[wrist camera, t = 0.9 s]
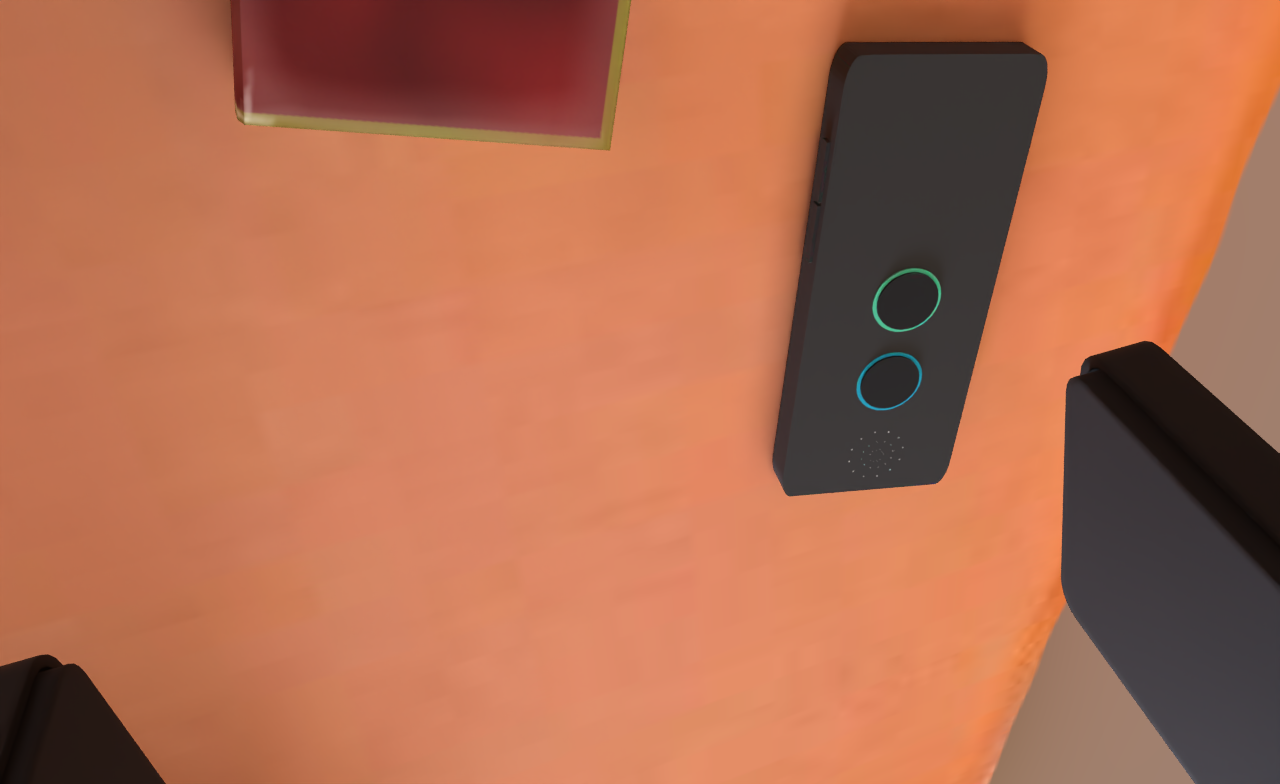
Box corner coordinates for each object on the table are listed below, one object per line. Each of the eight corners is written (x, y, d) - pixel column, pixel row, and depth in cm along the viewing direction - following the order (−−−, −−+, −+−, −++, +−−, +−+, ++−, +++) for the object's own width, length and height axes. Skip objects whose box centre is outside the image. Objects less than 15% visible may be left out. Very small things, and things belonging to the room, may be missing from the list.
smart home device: (777, 500, 51) (846, 56, 40) (766, 477, 52) (830, 41, 41) (948, 485, 53) (1059, 54, 42) (933, 463, 54) (1036, 41, 43)
